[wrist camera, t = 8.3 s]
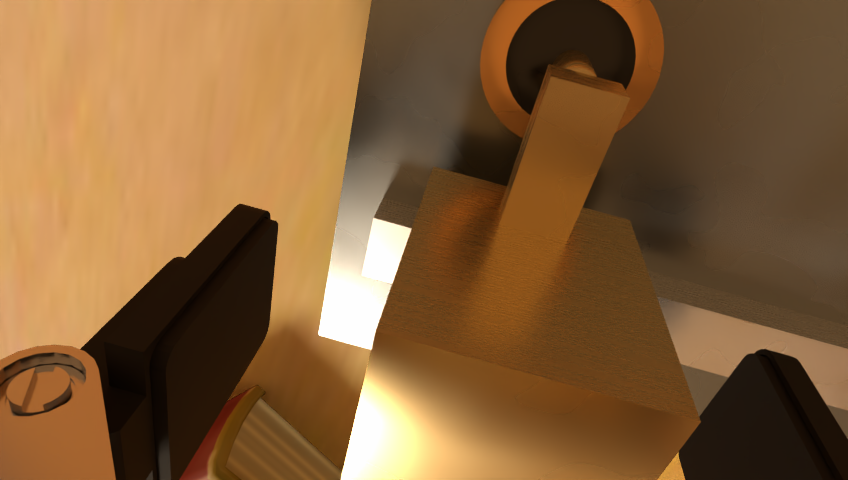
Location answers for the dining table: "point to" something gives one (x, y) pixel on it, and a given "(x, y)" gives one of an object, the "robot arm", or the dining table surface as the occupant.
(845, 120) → the plate
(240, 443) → the hardcover book
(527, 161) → the leg
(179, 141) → the dining table surface
